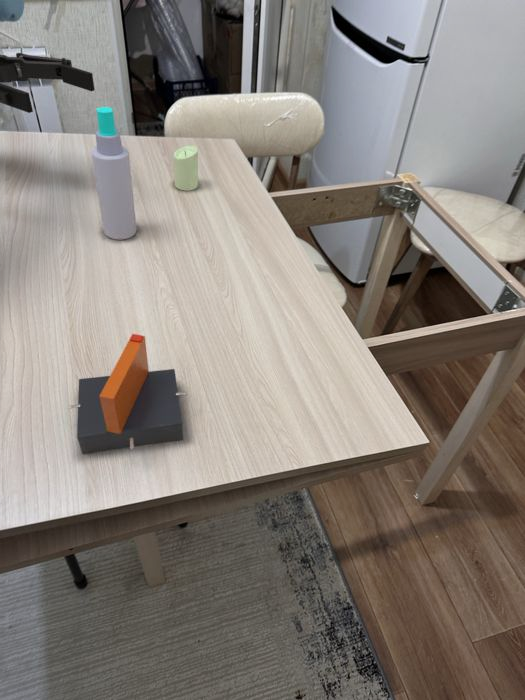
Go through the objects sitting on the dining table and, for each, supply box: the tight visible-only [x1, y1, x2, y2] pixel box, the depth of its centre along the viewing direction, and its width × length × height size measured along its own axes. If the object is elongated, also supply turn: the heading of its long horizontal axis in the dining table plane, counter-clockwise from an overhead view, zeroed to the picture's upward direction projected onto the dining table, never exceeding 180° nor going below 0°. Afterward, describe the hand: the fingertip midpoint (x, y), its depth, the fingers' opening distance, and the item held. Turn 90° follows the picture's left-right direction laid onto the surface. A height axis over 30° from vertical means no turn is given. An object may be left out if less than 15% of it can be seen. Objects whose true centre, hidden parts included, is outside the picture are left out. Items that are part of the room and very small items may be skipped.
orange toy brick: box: [99, 333, 150, 434], centre depth 57 cm, size 10×2×7 cm, turn 171°
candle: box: [173, 145, 199, 192], centre depth 104 cm, size 5×5×8 cm
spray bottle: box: [91, 106, 138, 240], centre depth 84 cm, size 6×6×22 cm
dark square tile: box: [67, 368, 188, 455], centre depth 61 cm, size 14×14×4 cm
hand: (62, 92), depth 78 cm, fingers open, 13 cm apart
